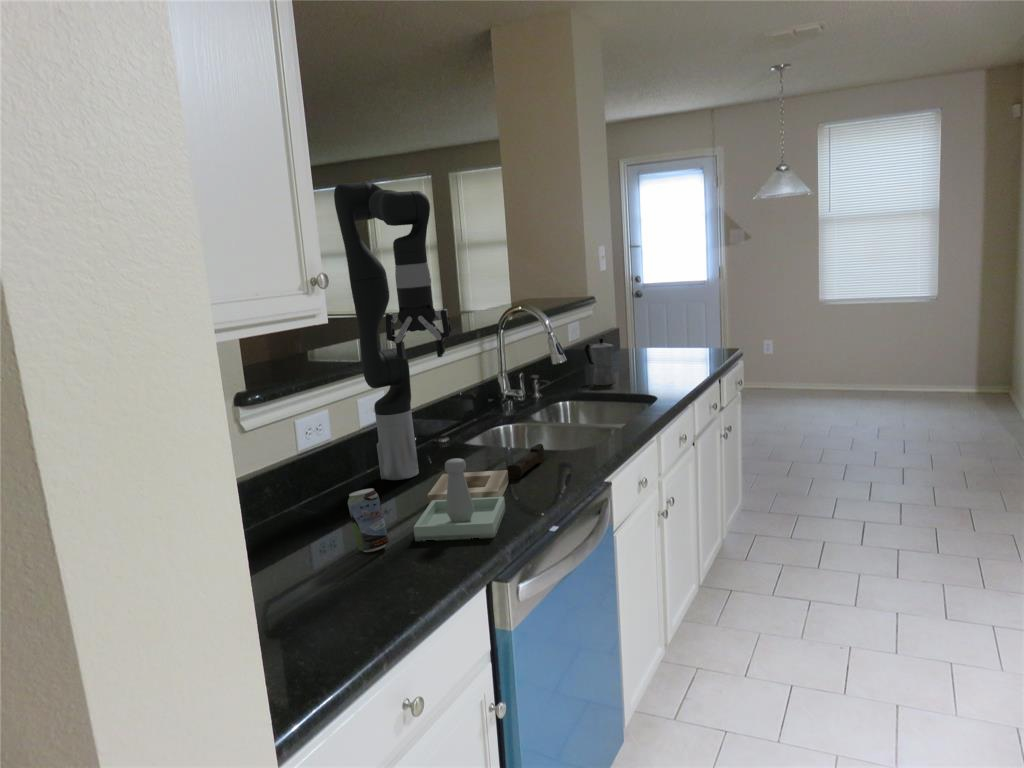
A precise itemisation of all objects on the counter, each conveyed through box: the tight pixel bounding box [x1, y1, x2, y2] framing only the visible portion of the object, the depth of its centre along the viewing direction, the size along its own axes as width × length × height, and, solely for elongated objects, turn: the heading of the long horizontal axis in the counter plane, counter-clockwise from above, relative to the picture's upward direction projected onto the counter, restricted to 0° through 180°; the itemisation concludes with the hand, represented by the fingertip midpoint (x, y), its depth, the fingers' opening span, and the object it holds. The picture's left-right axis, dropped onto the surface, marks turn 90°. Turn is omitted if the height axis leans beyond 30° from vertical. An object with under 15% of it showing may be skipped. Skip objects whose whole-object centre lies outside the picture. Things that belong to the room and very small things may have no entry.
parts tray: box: [413, 496, 506, 542], centre depth 158 cm, size 16×16×3 cm
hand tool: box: [505, 443, 546, 480], centre depth 195 cm, size 19×4×5 cm, turn 152°
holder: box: [427, 469, 510, 505], centre depth 178 cm, size 16×16×3 cm
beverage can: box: [347, 487, 389, 553], centre depth 149 cm, size 6×7×12 cm
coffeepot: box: [584, 337, 617, 386], centre depth 301 cm, size 15×9×18 cm, turn 44°
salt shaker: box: [444, 458, 474, 523], centre depth 158 cm, size 6×6×13 cm
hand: (421, 357), depth 170 cm, fingers open, 8 cm apart
